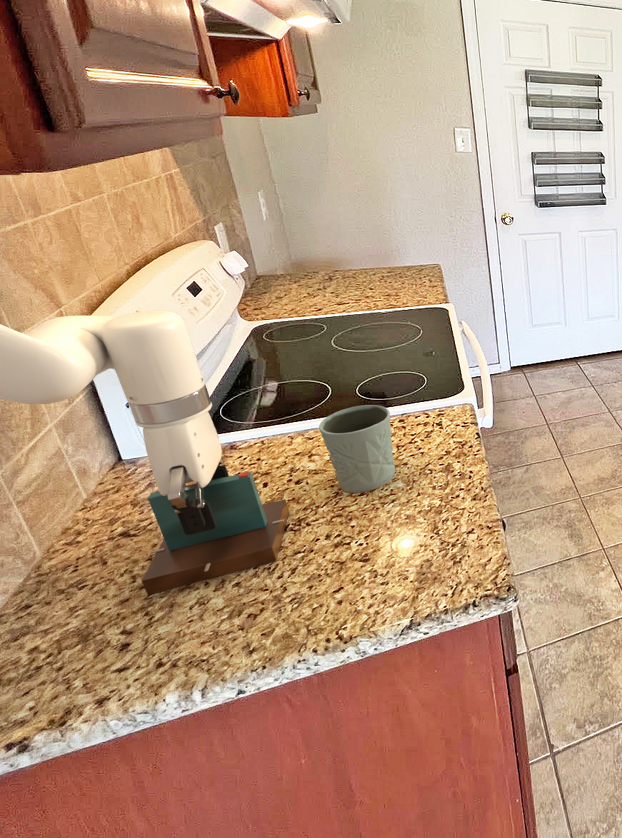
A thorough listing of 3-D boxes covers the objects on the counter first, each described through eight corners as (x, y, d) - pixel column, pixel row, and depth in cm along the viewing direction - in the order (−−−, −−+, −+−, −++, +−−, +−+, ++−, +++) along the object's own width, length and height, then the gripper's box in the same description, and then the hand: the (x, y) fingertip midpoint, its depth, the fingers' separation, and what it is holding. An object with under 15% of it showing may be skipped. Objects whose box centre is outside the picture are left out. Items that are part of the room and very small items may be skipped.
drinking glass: (321, 494, 96) (304, 433, 92) (357, 460, 105) (343, 403, 101) (382, 495, 96) (368, 434, 92) (412, 461, 106) (400, 404, 101)
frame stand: (137, 605, 74) (130, 590, 73) (174, 533, 87) (168, 519, 86) (279, 567, 81) (275, 552, 80) (295, 505, 93) (291, 491, 92)
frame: (169, 551, 80) (146, 496, 76) (172, 544, 81) (150, 491, 78) (266, 527, 85) (249, 475, 81) (267, 521, 86) (250, 470, 83)
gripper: (155, 383, 80) (193, 483, 87) (107, 442, 66) (156, 558, 72) (223, 373, 84) (254, 471, 90) (190, 428, 70) (230, 539, 76)
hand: (210, 509), depth 81 cm, fingers open, 9 cm apart
